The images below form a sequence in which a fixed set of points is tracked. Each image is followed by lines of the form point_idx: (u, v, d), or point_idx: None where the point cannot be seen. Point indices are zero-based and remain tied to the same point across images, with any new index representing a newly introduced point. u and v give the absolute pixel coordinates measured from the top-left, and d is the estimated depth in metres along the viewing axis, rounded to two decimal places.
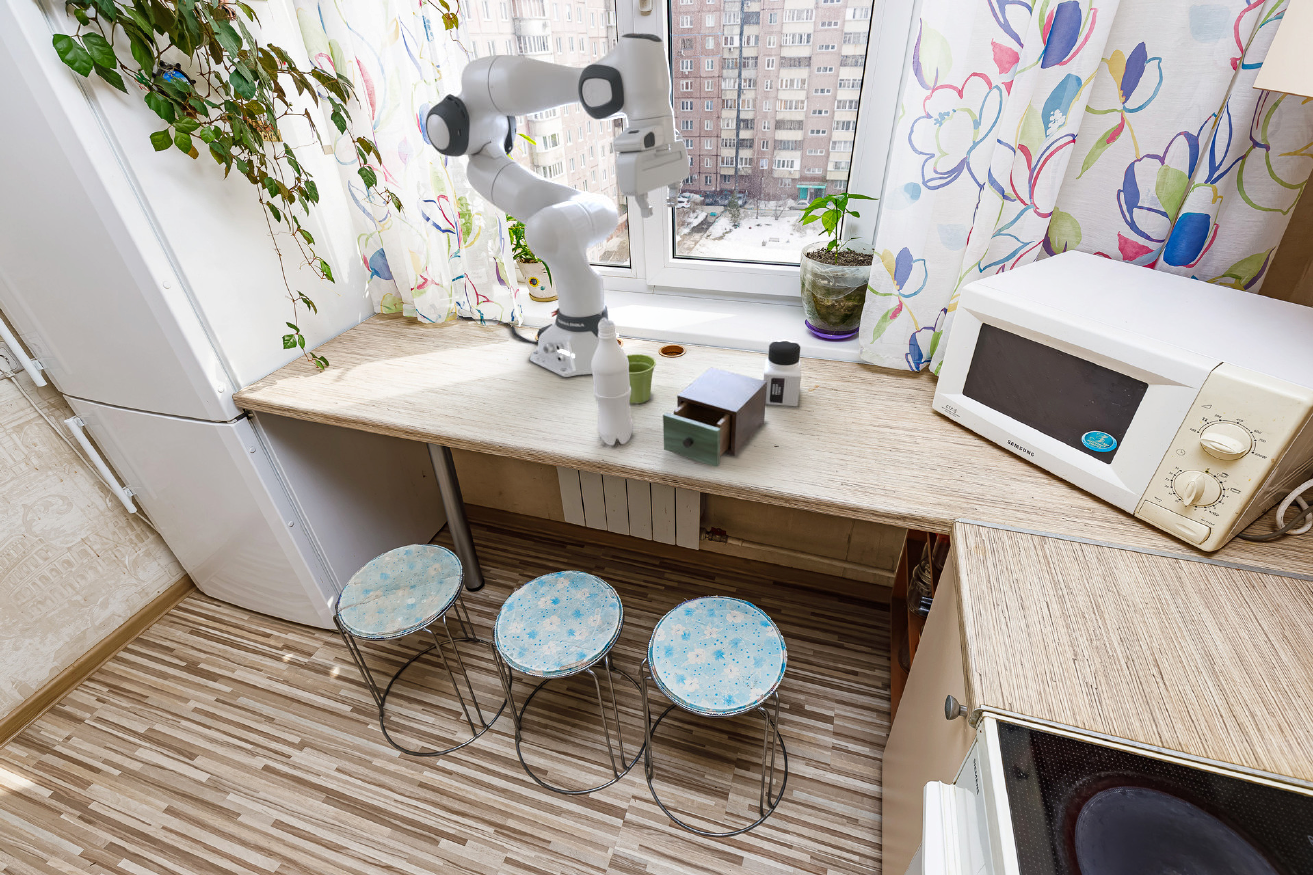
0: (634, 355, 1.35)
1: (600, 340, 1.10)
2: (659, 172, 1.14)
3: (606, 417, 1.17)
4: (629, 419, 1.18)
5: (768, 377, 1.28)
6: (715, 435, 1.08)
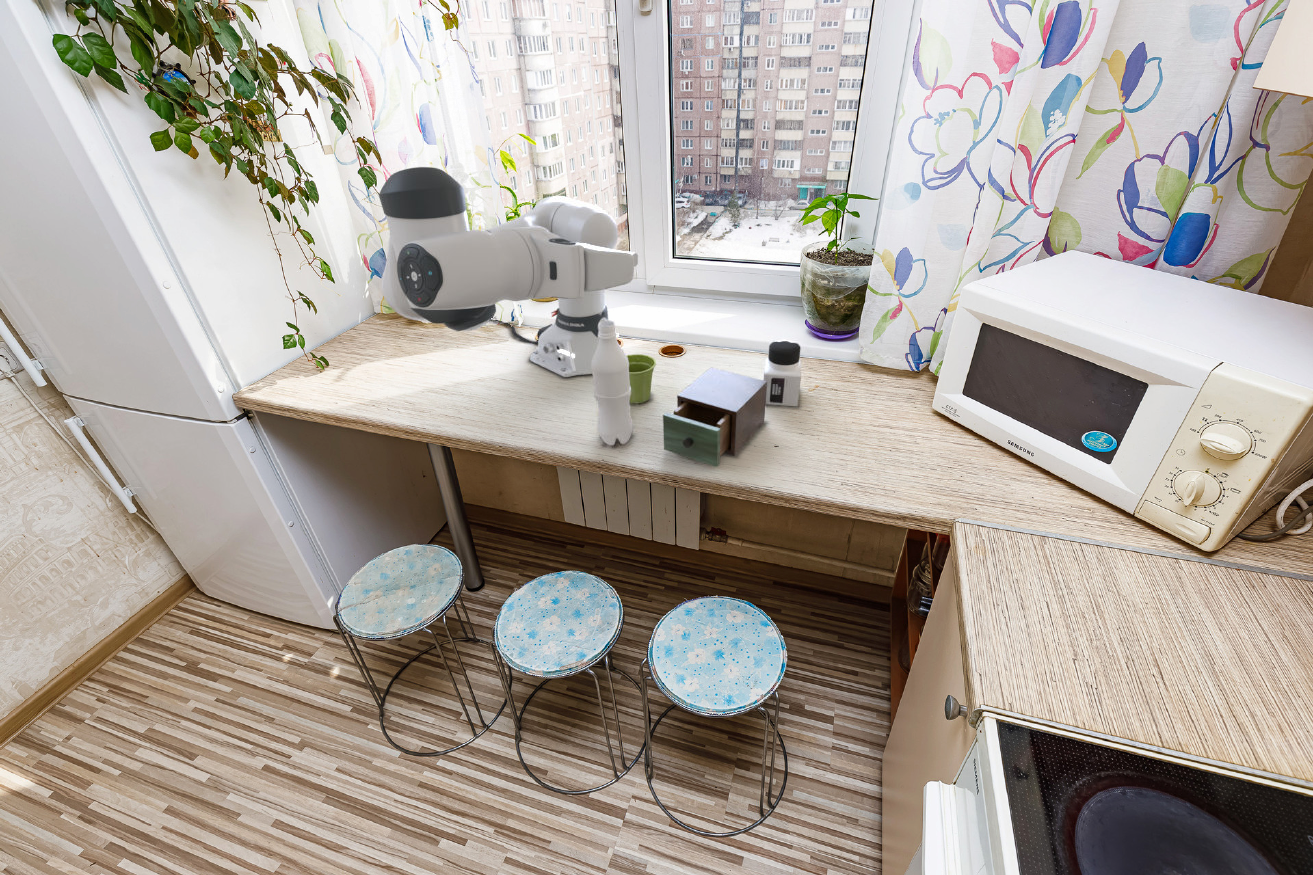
0: (634, 355, 1.35)
1: (600, 340, 1.10)
2: None
3: (606, 417, 1.17)
4: (629, 419, 1.18)
5: (768, 377, 1.28)
6: (715, 435, 1.08)
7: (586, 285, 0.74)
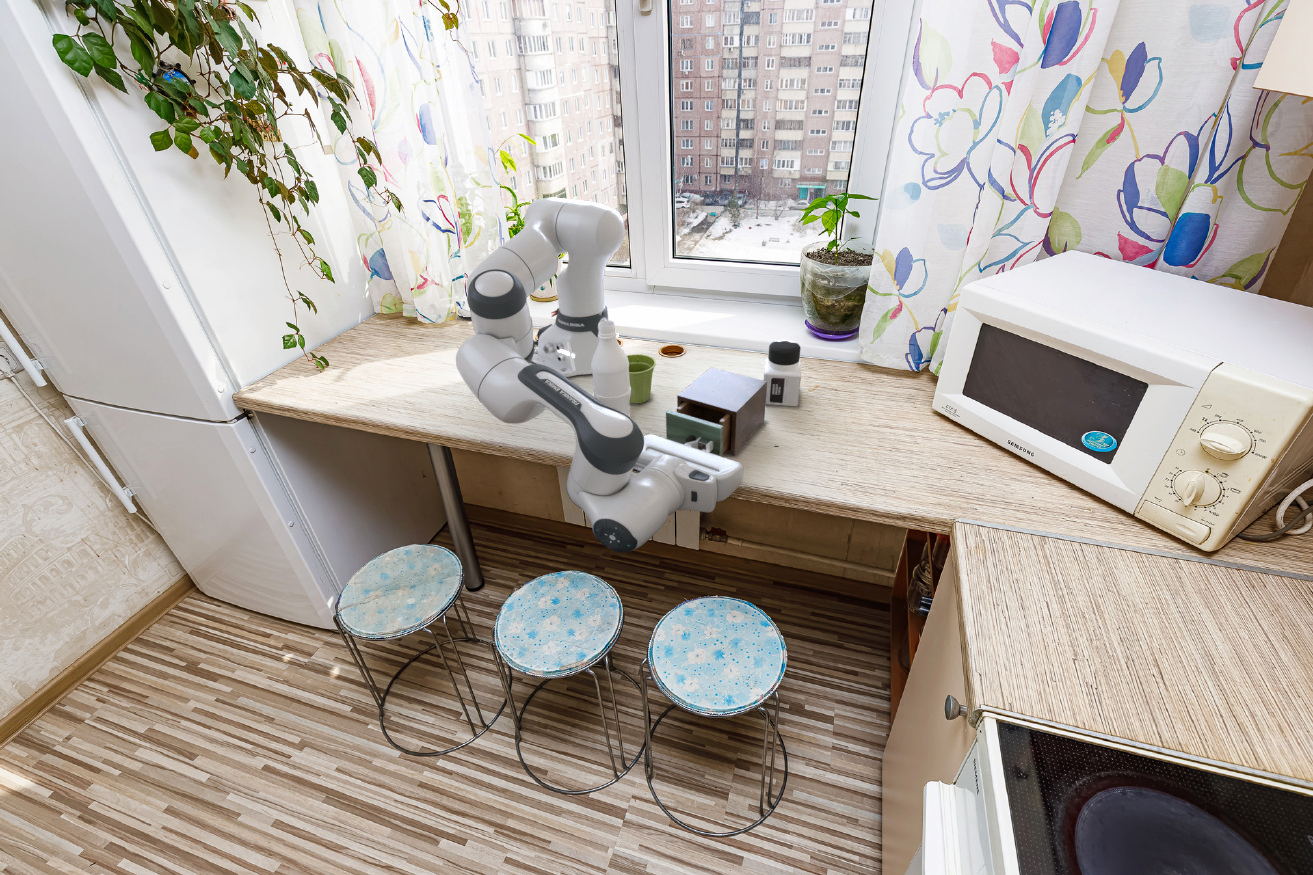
0: (634, 355, 1.35)
1: (600, 340, 1.10)
2: (694, 457, 1.04)
3: None
4: None
5: (768, 377, 1.28)
6: (718, 432, 1.09)
7: (716, 498, 1.00)
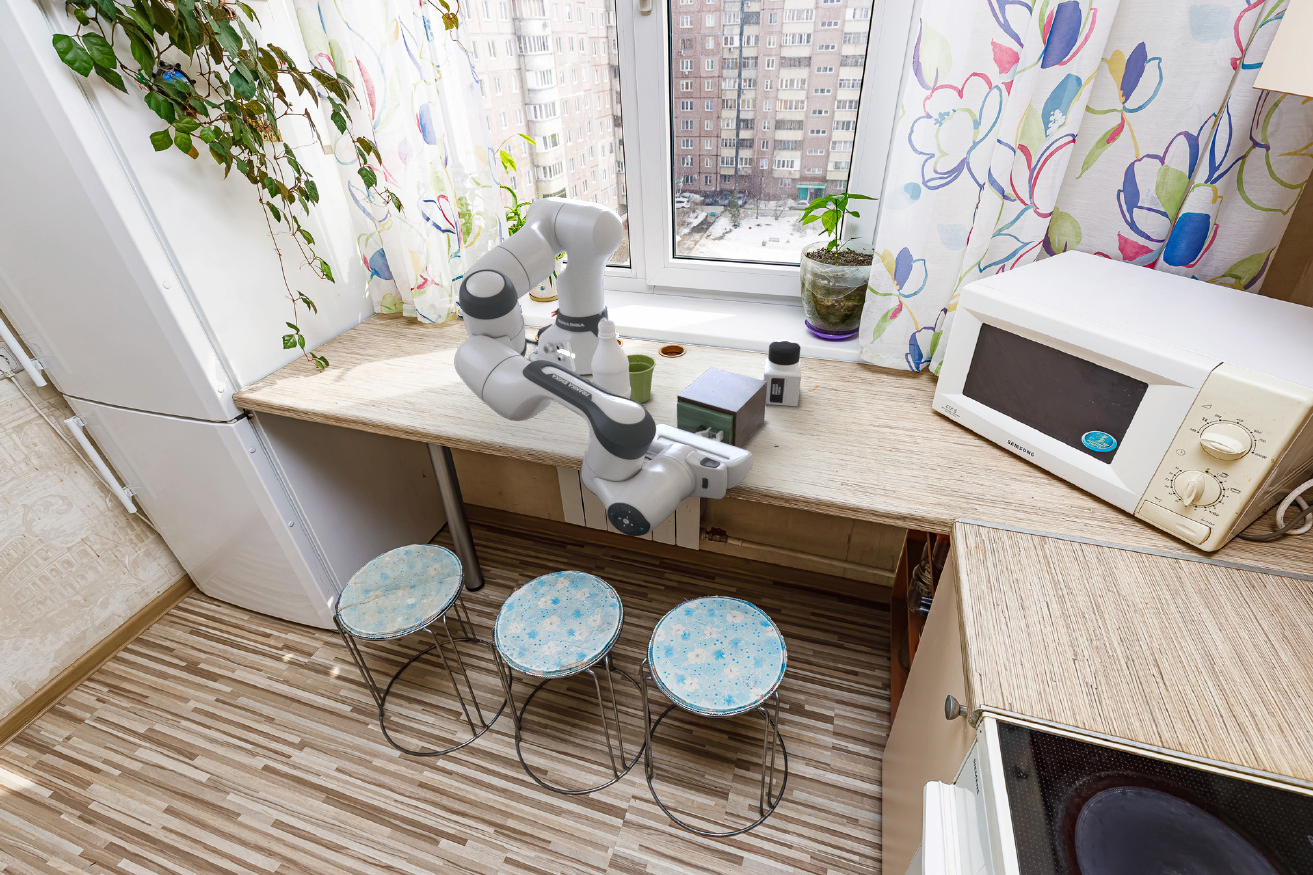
0: (634, 355, 1.35)
1: (600, 340, 1.10)
2: (704, 445, 1.07)
3: None
4: None
5: (768, 377, 1.28)
6: (728, 422, 1.11)
7: (726, 486, 1.03)
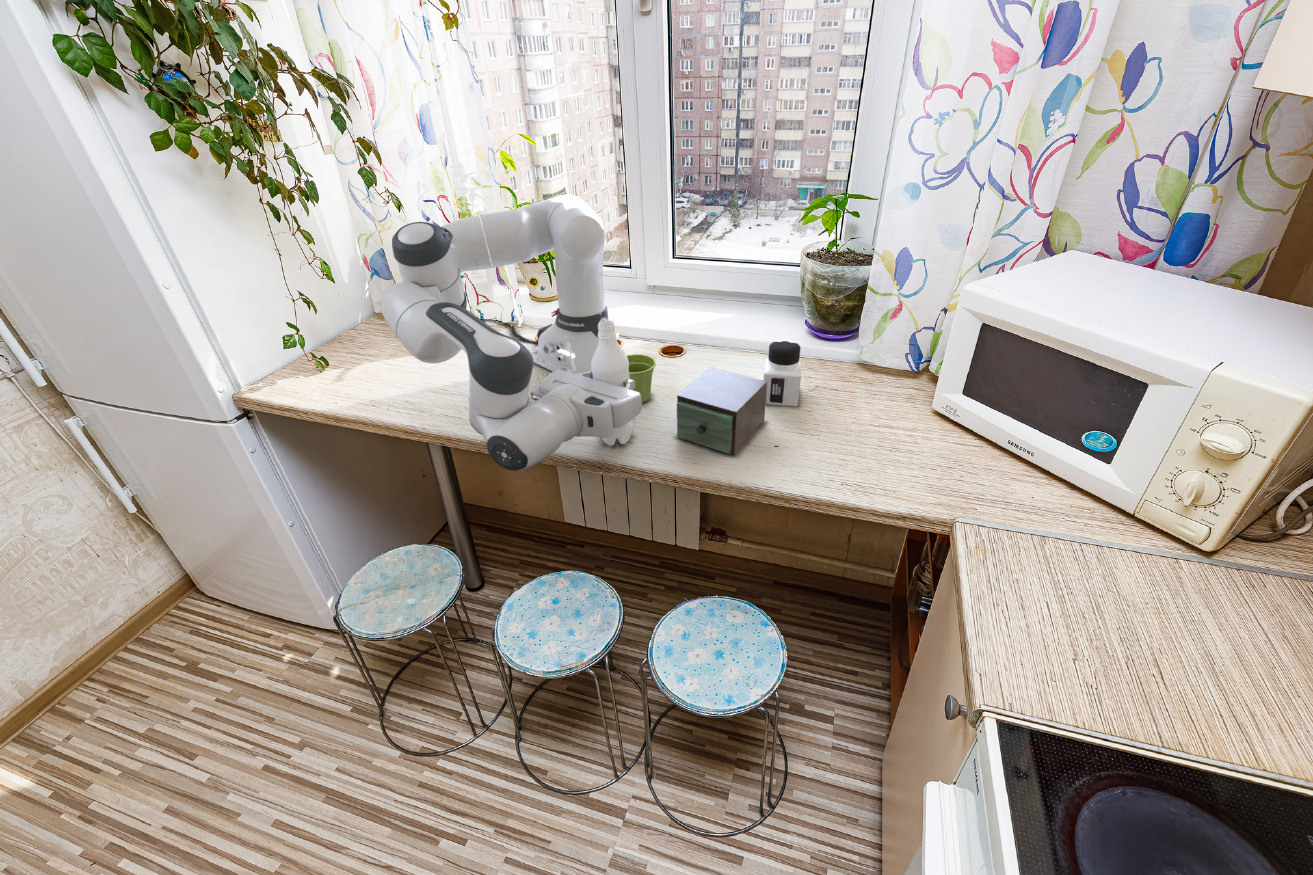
0: (634, 355, 1.35)
1: (600, 340, 1.10)
2: (596, 388, 1.09)
3: None
4: None
5: (768, 377, 1.28)
6: (728, 422, 1.11)
7: (613, 425, 1.04)
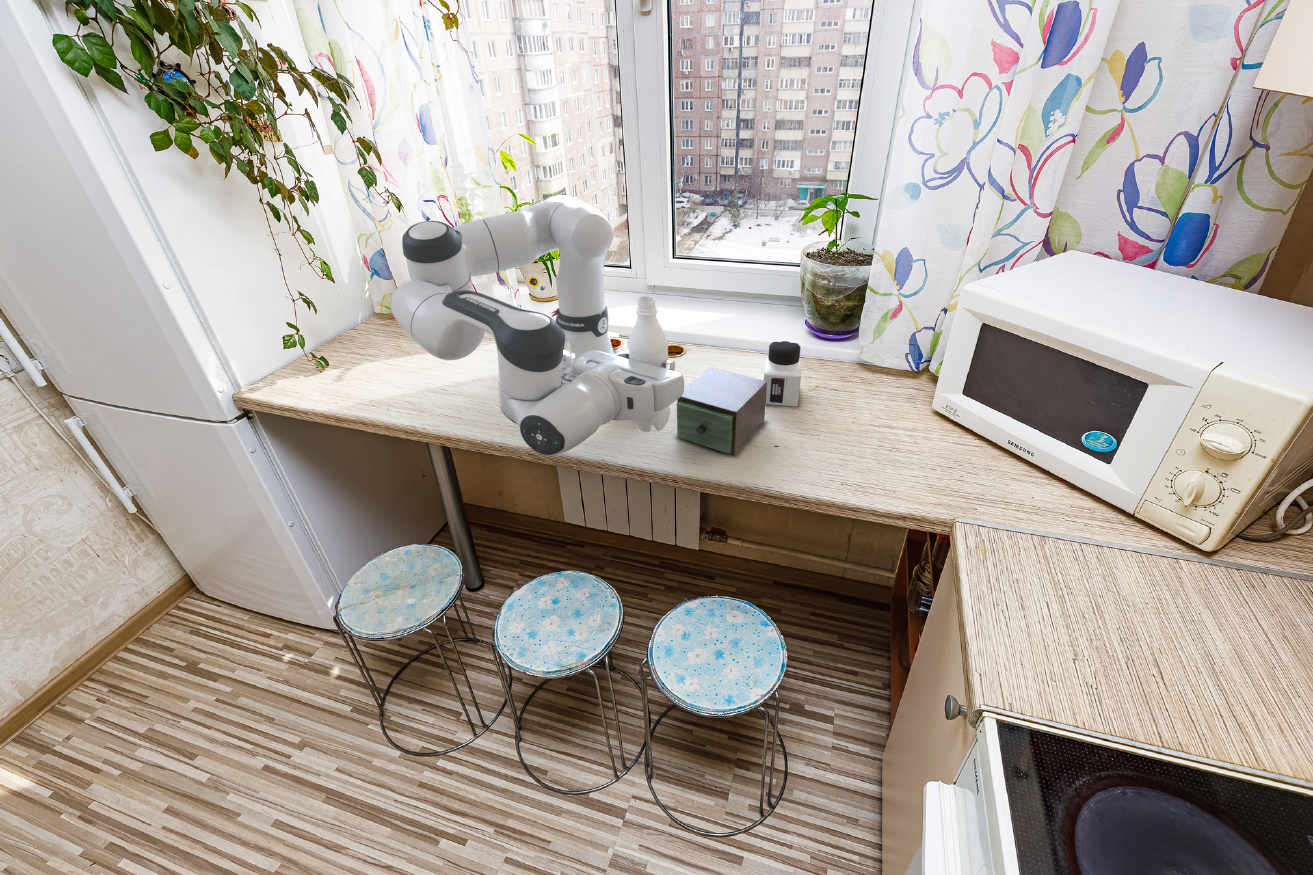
0: None
1: (639, 317, 1.02)
2: (634, 368, 1.01)
3: None
4: None
5: (768, 377, 1.28)
6: (728, 422, 1.11)
7: (654, 408, 0.96)
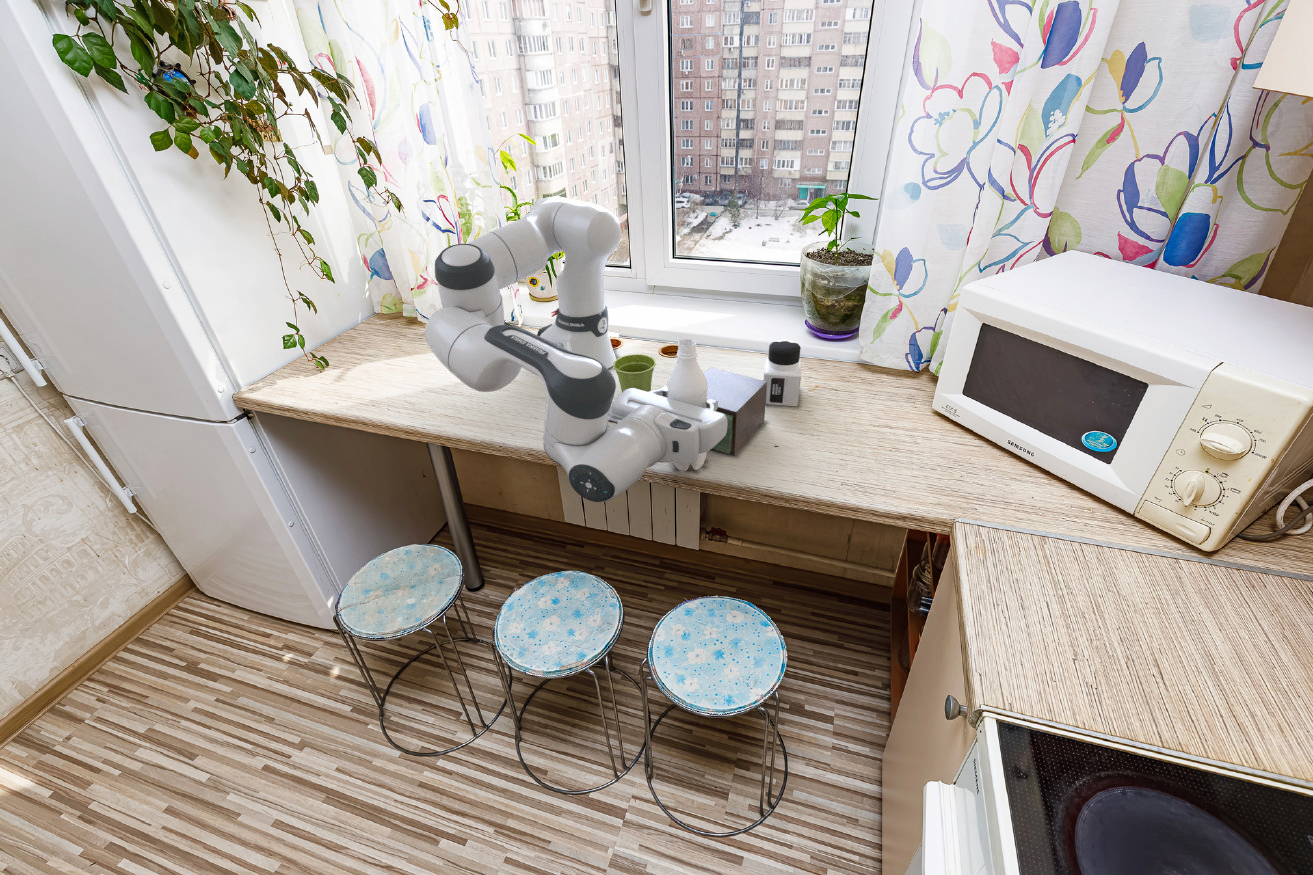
0: (634, 355, 1.35)
1: (679, 360, 1.02)
2: (676, 408, 1.00)
3: None
4: None
5: (768, 377, 1.28)
6: (728, 422, 1.11)
7: (699, 450, 0.96)
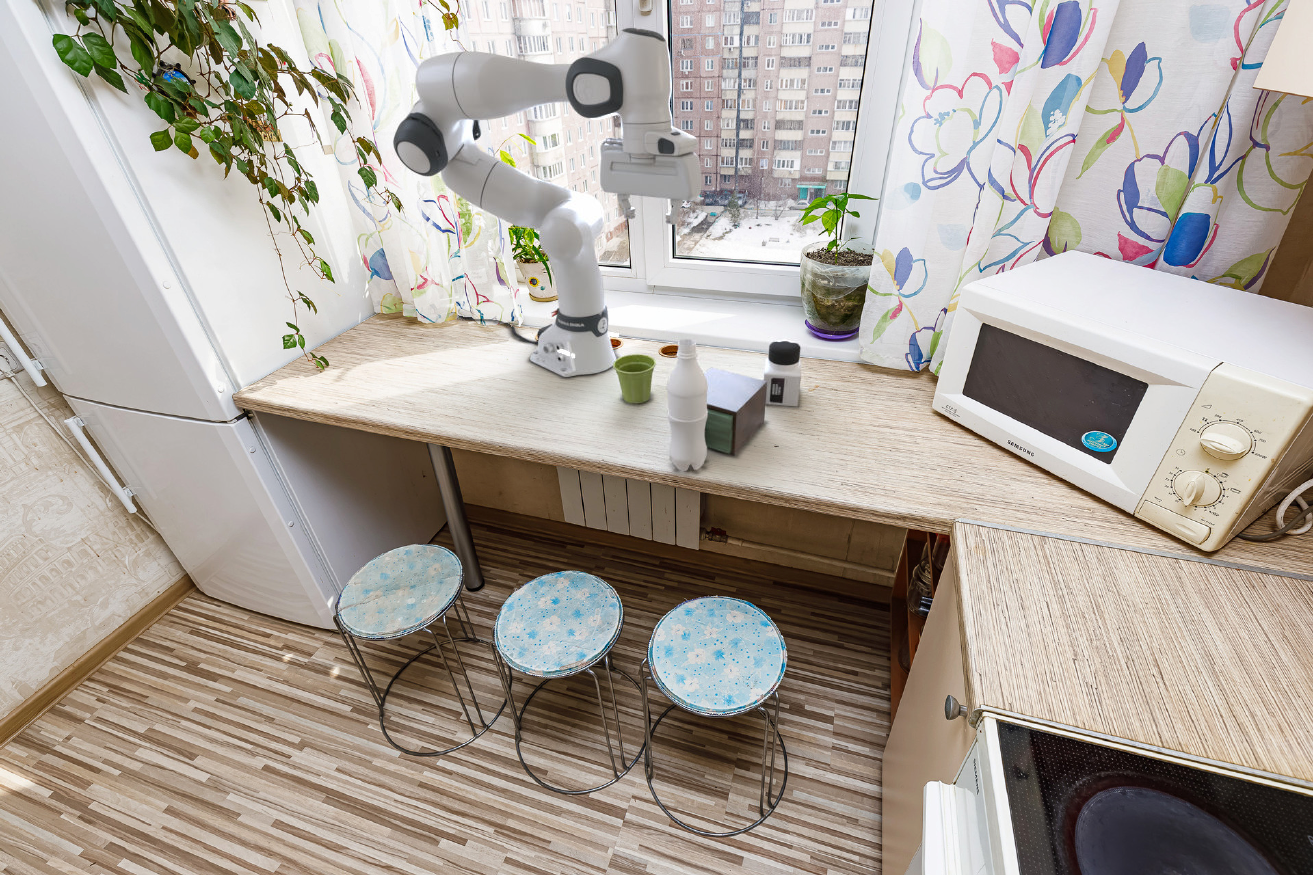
0: (634, 355, 1.35)
1: (679, 360, 1.02)
2: None
3: (681, 442, 1.09)
4: (704, 443, 1.10)
5: (768, 377, 1.28)
6: (728, 422, 1.11)
7: (683, 156, 1.02)
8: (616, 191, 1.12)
